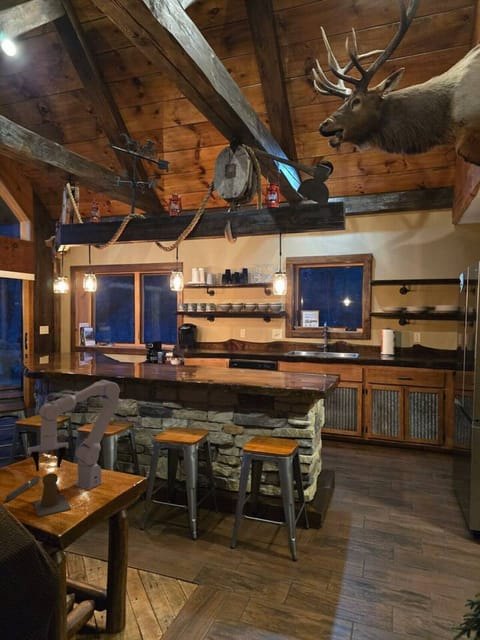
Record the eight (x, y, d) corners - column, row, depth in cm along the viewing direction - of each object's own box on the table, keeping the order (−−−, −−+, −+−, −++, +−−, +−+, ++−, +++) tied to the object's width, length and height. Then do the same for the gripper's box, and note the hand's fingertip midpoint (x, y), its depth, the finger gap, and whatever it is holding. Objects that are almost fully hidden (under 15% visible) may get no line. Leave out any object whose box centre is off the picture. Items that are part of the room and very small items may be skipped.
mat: (71, 509, 150) (71, 508, 150) (37, 517, 144) (37, 515, 144) (64, 495, 161) (64, 494, 161) (33, 502, 155) (33, 501, 155)
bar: (10, 501, 154) (10, 494, 154) (5, 500, 155) (5, 494, 155) (40, 480, 173) (40, 475, 173) (35, 480, 174) (36, 474, 173)
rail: (59, 495, 161) (59, 489, 161) (55, 496, 160) (55, 490, 160) (54, 484, 171) (54, 478, 171) (51, 484, 170) (51, 479, 170)
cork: (42, 500, 155) (43, 472, 155) (59, 499, 157) (60, 470, 156) (39, 508, 149) (39, 478, 149) (57, 506, 151) (57, 477, 151)
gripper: (66, 429, 168) (65, 462, 169) (26, 434, 160) (26, 468, 160) (69, 433, 162) (69, 467, 163) (29, 439, 154) (28, 474, 155)
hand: (48, 468), depth 161 cm, fingers open, 7 cm apart
